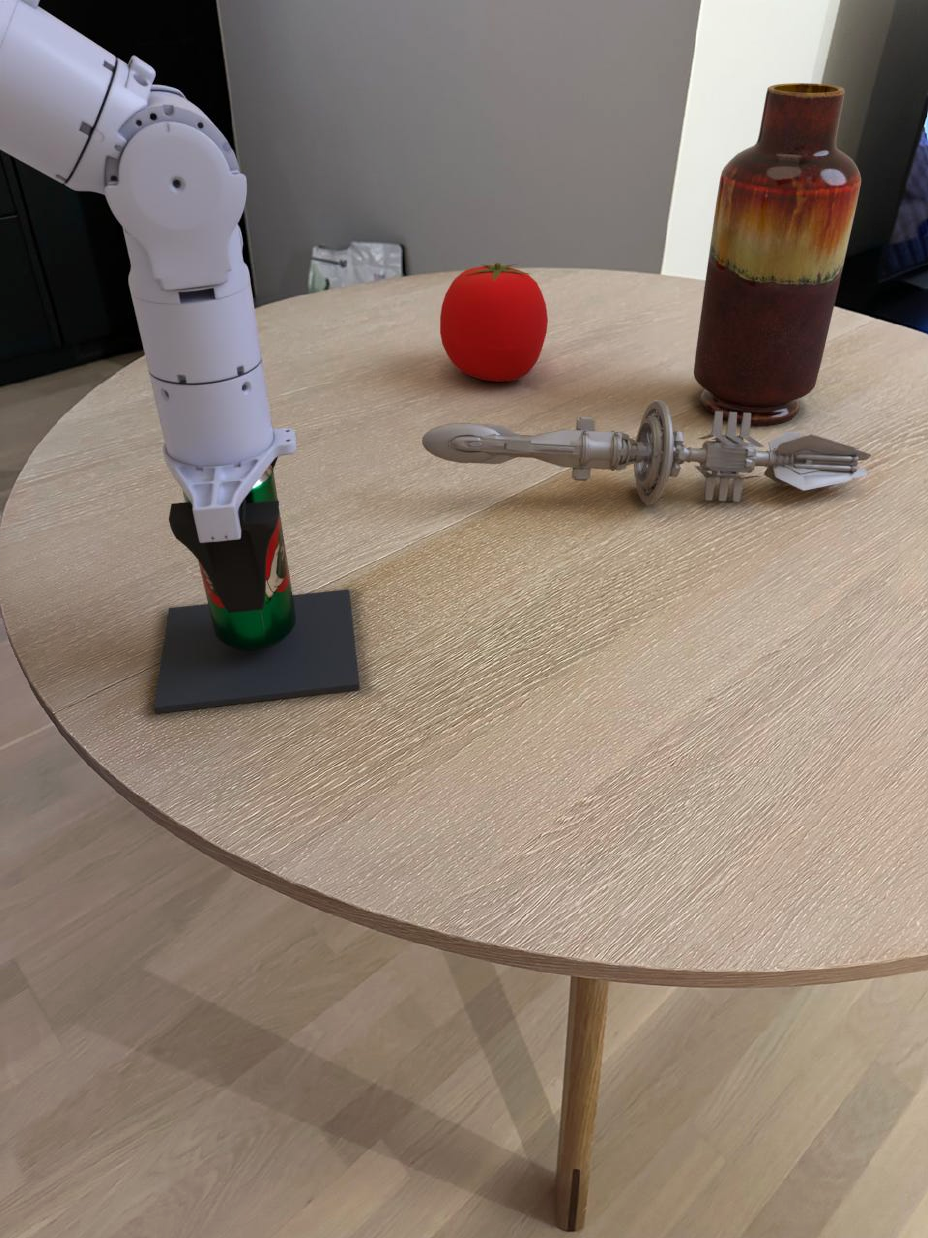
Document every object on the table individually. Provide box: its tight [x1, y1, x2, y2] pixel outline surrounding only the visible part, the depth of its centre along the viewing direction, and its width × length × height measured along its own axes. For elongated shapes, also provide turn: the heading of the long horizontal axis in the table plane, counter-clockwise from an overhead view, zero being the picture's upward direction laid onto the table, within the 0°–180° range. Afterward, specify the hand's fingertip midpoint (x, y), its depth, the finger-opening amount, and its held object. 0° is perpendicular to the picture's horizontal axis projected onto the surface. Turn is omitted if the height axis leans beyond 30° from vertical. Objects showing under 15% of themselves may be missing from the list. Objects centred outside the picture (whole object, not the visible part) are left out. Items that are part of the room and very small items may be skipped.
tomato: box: [439, 262, 549, 383], centre depth 91 cm, size 10×11×11 cm
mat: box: [153, 588, 361, 714], centre depth 59 cm, size 12×10×1 cm
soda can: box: [182, 464, 296, 651], centre depth 54 cm, size 5×5×12 cm
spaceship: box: [421, 399, 872, 506], centre depth 71 cm, size 8×35×8 cm
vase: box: [693, 82, 862, 426], centre depth 79 cm, size 11×11×26 cm
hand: (246, 581), depth 56 cm, fingers closed on soda can, 5 cm apart
